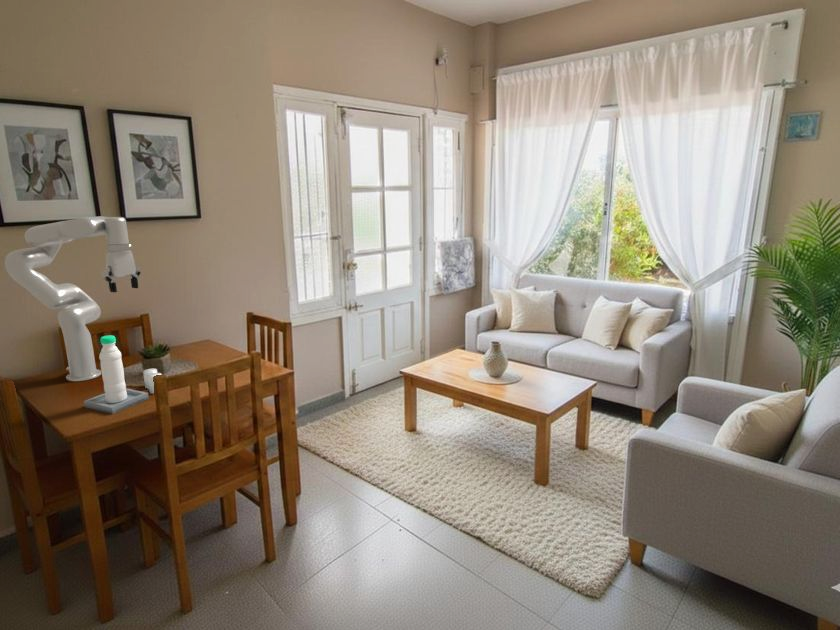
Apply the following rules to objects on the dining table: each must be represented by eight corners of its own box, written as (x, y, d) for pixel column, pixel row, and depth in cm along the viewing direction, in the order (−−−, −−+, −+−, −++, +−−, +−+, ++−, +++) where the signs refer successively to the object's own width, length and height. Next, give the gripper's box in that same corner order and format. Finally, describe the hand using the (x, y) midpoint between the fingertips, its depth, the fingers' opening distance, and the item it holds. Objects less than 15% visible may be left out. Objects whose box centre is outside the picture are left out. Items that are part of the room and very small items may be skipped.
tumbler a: (146, 392, 203) (144, 376, 201) (157, 388, 207) (155, 372, 206) (155, 394, 201) (153, 377, 199) (166, 390, 205) (164, 373, 204)
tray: (84, 407, 189) (83, 401, 189) (121, 392, 203) (120, 387, 202) (112, 413, 183) (111, 407, 183) (148, 398, 197) (148, 392, 196)
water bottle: (117, 404, 189) (108, 339, 183) (101, 403, 190) (91, 338, 184) (131, 397, 196) (123, 334, 190) (115, 395, 197) (106, 333, 191)
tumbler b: (142, 387, 208) (140, 371, 206) (153, 383, 212) (150, 367, 210) (151, 389, 206) (149, 373, 204) (161, 385, 210) (159, 369, 209)
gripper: (131, 245, 215) (136, 285, 219) (91, 250, 200) (98, 293, 204) (144, 246, 212) (149, 287, 216) (104, 250, 197) (111, 294, 201)
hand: (124, 289), depth 210 cm, fingers open, 9 cm apart
